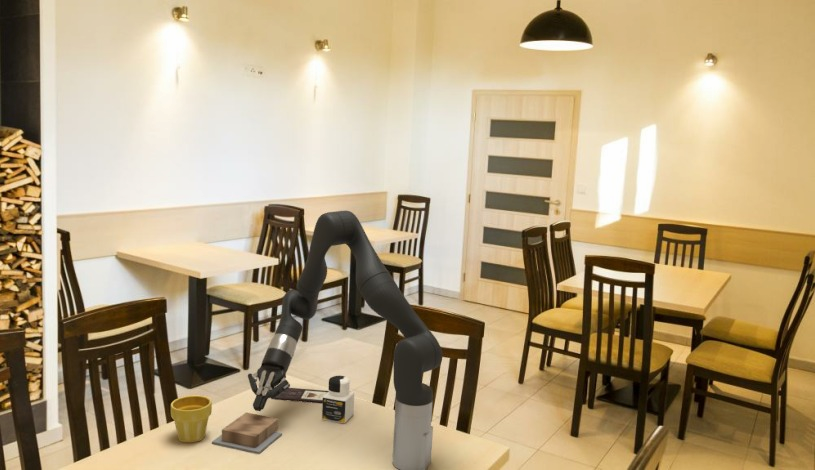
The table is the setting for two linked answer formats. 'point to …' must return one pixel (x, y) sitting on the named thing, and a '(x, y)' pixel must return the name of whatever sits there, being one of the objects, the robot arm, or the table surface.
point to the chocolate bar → (302, 395)
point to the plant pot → (191, 417)
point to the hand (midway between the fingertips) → (256, 409)
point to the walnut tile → (250, 429)
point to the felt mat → (256, 450)
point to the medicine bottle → (338, 400)
